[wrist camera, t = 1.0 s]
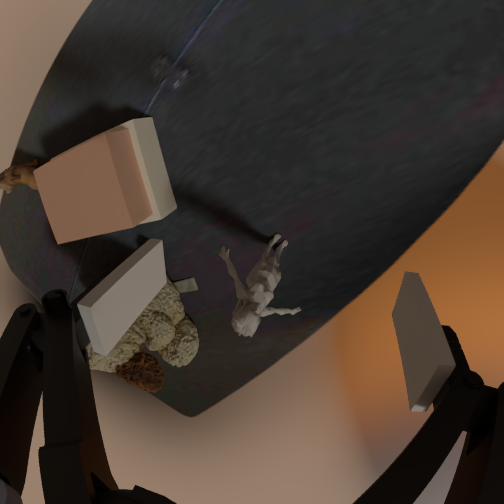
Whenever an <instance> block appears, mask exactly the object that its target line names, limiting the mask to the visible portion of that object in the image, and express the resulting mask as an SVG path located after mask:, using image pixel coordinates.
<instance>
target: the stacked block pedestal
mask: <svg viewBox="0 0 504 504" xmlns="http://www.w3.org/2000/svg"><path fill="white" fill-rule="evenodd" d="M50 160H51V161H50V162H48V163H46V164H44V165H43V166H41V167H39V168H37V169H36V170H34V171H33V173H34V176H35V180H36V183H37V186H38V190H39V193H40V196H41V199H42V202H43V205H44V208H45V211H46V214H47V217H48V220H49V222H50V225H51V228H52V231H53V233H54V236H55V238H56V241H57V243H58V244H62V243H66V242H70V241H74V240H79V239H83V238H87V237H92V236H96V235H101V234H105V233H110V232H114V231H119V230H124V229H128V228H133V227H135V226H136V225H138V224H142V223H147V222H151V221H156V220H161V219H163V218H164V217H166V216H167V215H168V214H170V213H171V212H172V211H174V210H175V209H176V208H177V205H176V202H175V198H174V195H173V192H172V188H171V185H170V181H169V178H168V174H167V171H166V167H165V164H164V160H163V156H162V153H161V149H160V145H159V142H158V138H157V134H156V130H155V127H154V123H153V119H152V117H148V118H139V119H132V120H130V121H128V122H125V123H123V124H121V125H118V126H116V127H114V128H112V129H109V130H107V131H105V132H103V133H101V134H98V135H96V136H94V137H92V138H90V139H88V140H86V141H84V142H82V143H80V144H78V145H76V146H74V147H72V148H70V149H68V150H67V151H65V152H63V153H61V154H59V155H57V156H55V157H54V158H52V159H50Z"/></svg>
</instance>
